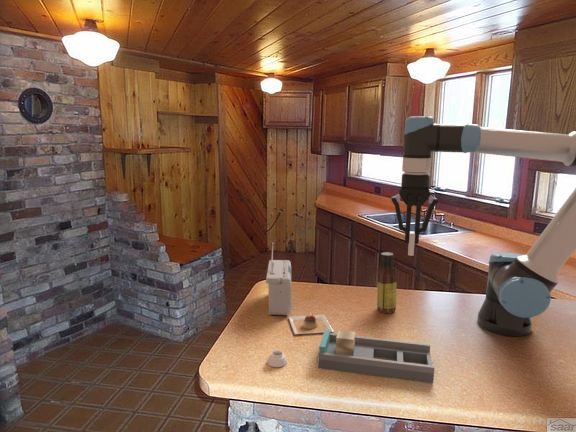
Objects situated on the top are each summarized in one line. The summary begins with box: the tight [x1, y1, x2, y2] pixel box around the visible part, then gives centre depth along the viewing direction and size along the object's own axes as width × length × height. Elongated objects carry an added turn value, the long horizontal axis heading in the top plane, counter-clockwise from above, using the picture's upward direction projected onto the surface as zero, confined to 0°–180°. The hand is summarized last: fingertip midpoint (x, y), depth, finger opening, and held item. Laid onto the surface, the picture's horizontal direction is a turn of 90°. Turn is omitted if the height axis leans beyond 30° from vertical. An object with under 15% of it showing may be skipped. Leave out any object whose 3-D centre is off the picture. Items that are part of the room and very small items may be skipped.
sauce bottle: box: [376, 251, 397, 314], centre depth 143 cm, size 6×6×20 cm
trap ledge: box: [317, 328, 435, 384], centre depth 112 cm, size 28×12×6 cm, turn 77°
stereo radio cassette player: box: [265, 242, 292, 317], centre depth 148 cm, size 21×8×20 cm, turn 179°
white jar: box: [267, 349, 288, 368], centre depth 112 cm, size 5×3×5 cm
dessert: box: [287, 312, 335, 336], centre depth 133 cm, size 12×12×5 cm
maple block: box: [336, 329, 356, 356], centre depth 113 cm, size 4×4×4 cm
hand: (410, 254), depth 125 cm, fingers closed
